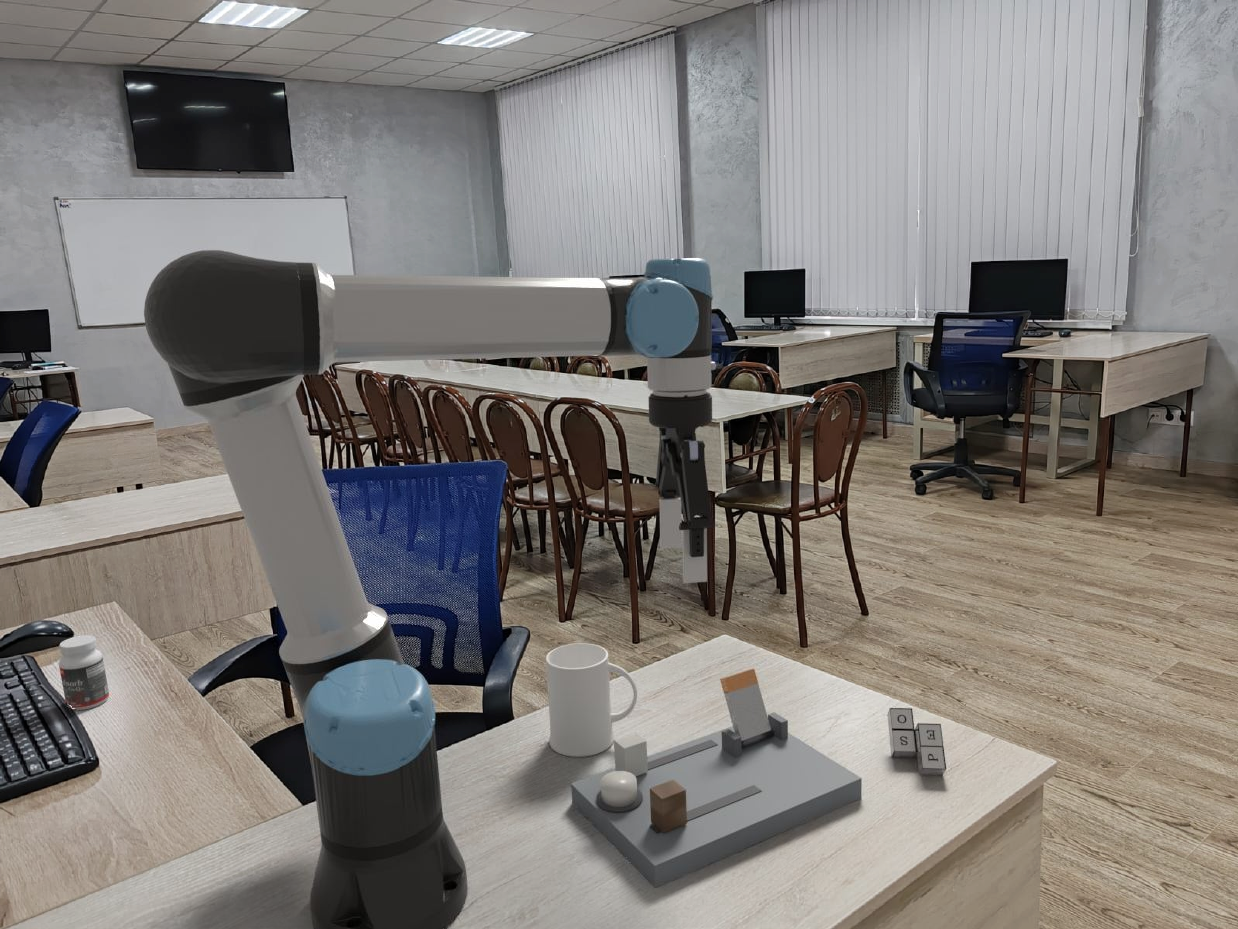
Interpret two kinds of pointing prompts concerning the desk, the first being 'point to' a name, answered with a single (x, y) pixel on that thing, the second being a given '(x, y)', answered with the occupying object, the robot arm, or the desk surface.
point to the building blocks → (916, 741)
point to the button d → (619, 788)
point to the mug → (582, 699)
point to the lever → (746, 707)
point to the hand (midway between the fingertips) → (682, 563)
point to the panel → (720, 799)
